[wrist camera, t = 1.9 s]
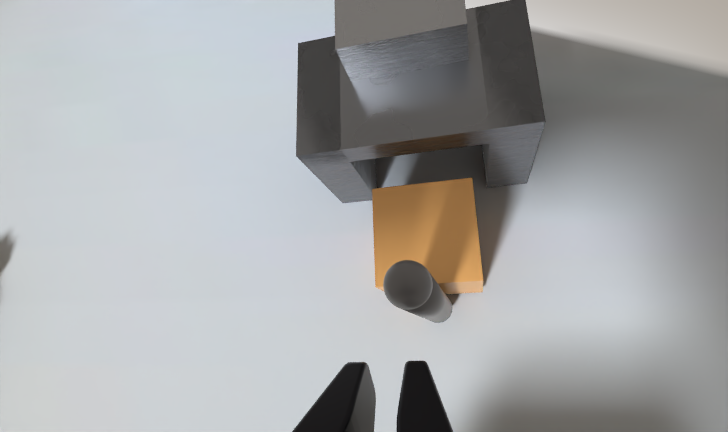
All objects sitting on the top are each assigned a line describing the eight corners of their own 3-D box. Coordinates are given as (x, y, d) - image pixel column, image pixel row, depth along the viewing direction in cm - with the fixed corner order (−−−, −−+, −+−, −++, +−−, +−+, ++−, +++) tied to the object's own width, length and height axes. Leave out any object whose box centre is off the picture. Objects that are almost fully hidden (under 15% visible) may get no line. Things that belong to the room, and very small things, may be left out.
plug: (485, 321, 21) (491, 303, 11) (396, 324, 22) (326, 311, 12) (472, 196, 23) (466, 83, 13) (390, 205, 24) (326, 106, 14)
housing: (526, 183, 22) (554, 89, 14) (342, 203, 25) (273, 132, 16) (512, 87, 24) (530, -48, 16) (341, 114, 26) (277, 9, 18)
